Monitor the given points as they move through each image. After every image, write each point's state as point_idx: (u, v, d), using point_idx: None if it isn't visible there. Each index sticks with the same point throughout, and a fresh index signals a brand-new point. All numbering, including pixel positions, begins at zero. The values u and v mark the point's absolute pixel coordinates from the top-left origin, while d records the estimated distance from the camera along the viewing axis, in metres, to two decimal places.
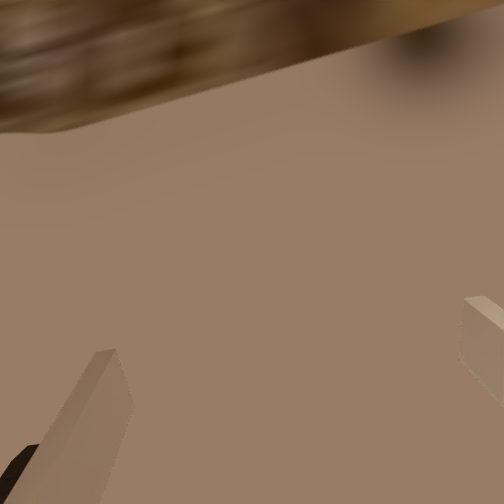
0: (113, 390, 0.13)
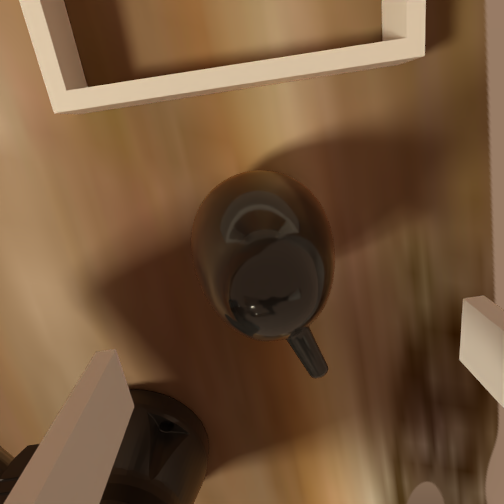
0: (113, 390, 0.13)
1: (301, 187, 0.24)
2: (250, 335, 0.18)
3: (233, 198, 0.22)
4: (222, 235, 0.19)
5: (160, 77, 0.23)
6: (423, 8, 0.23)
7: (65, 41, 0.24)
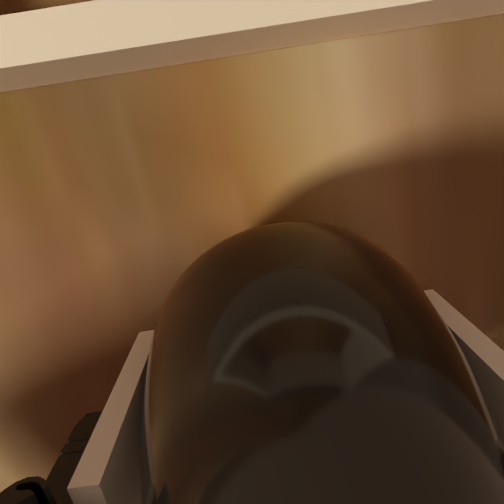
0: None
1: (397, 270, 0.10)
2: None
3: (240, 329, 0.08)
4: None
5: (61, 9, 0.10)
6: None
7: None
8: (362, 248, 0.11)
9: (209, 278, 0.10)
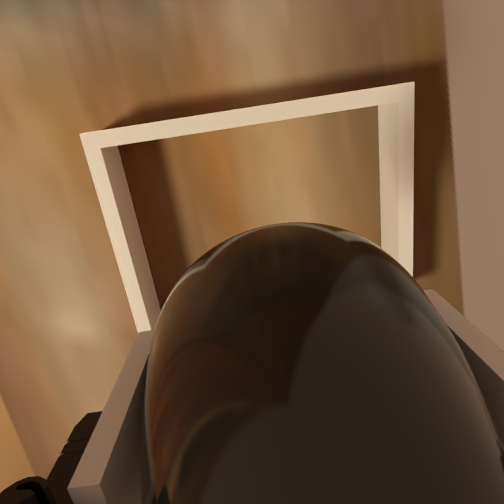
0: None
1: (397, 271, 0.10)
2: None
3: (240, 331, 0.08)
4: None
5: None
6: None
7: (149, 290, 0.33)
8: (363, 249, 0.11)
9: (209, 279, 0.10)
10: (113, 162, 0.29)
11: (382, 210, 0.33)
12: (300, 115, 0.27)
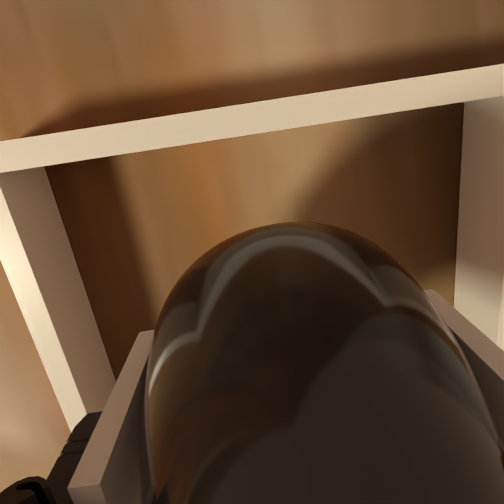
0: None
1: (397, 271, 0.10)
2: None
3: (240, 330, 0.08)
4: None
5: None
6: None
7: (100, 386, 0.22)
8: (363, 249, 0.11)
9: (209, 279, 0.10)
10: (31, 194, 0.18)
11: (460, 262, 0.21)
12: (348, 116, 0.15)
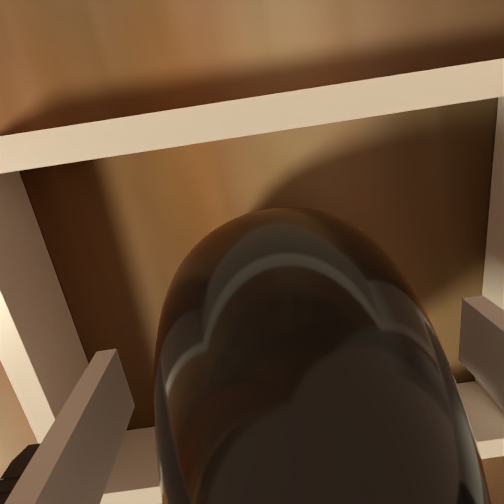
0: (114, 390, 0.13)
1: (371, 245, 0.12)
2: None
3: (236, 284, 0.10)
4: (206, 404, 0.07)
5: None
6: None
7: None
8: (342, 227, 0.13)
9: (211, 251, 0.12)
10: (1, 202, 0.15)
11: (488, 278, 0.19)
12: (370, 113, 0.13)
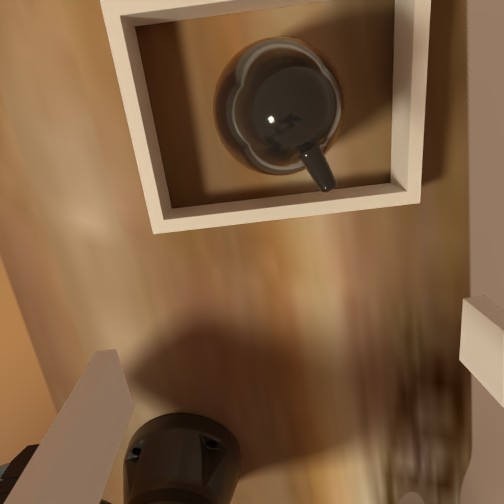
0: (113, 390, 0.13)
1: None
2: (269, 142, 0.21)
3: (254, 44, 0.24)
4: (246, 63, 0.22)
5: (230, 213, 0.33)
6: (419, 173, 0.32)
7: (161, 180, 0.34)
8: None
9: None
10: (131, 39, 0.30)
11: (394, 107, 0.33)
12: None
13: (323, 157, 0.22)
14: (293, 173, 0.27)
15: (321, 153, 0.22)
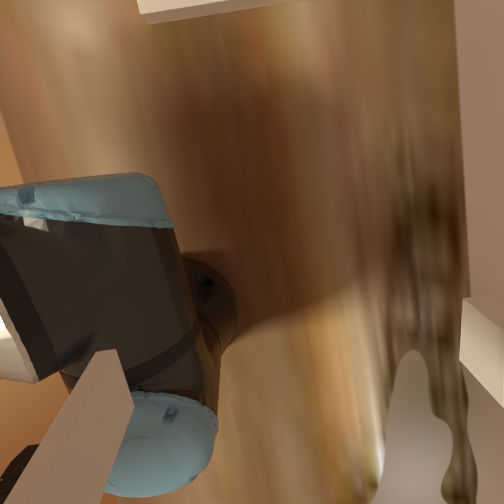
0: (113, 390, 0.13)
1: None
2: None
3: None
4: None
5: None
6: None
7: None
8: None
9: None
10: None
11: None
12: None
13: None
14: None
15: None
